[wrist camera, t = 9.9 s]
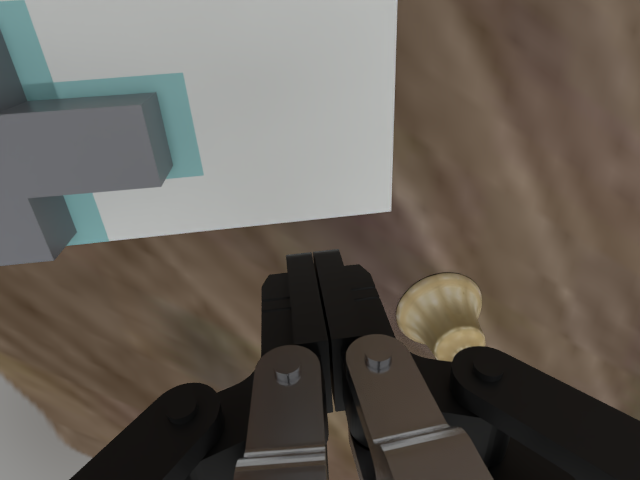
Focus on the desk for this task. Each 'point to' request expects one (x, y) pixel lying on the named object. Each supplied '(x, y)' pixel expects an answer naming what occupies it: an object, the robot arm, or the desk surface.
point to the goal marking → (41, 87)
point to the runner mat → (246, 103)
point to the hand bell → (442, 314)
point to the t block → (68, 160)
